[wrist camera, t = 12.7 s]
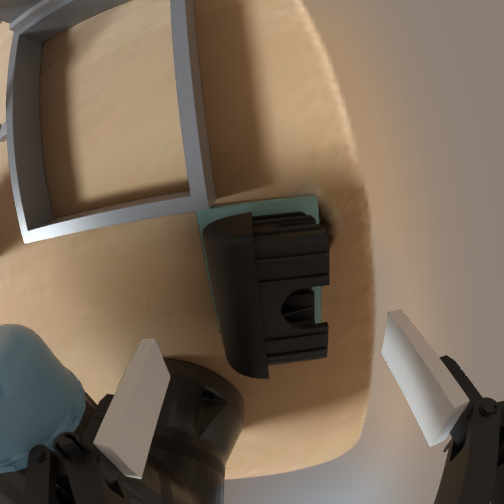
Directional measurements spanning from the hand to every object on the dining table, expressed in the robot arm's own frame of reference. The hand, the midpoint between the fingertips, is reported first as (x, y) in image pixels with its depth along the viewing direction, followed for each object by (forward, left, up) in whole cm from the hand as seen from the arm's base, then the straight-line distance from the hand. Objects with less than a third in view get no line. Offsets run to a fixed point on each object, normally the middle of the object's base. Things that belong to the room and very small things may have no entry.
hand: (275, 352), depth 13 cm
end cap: (0, 0, -10) cm, 10 cm away
